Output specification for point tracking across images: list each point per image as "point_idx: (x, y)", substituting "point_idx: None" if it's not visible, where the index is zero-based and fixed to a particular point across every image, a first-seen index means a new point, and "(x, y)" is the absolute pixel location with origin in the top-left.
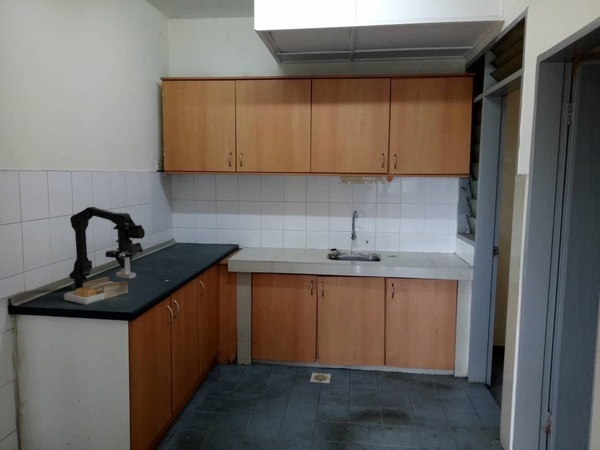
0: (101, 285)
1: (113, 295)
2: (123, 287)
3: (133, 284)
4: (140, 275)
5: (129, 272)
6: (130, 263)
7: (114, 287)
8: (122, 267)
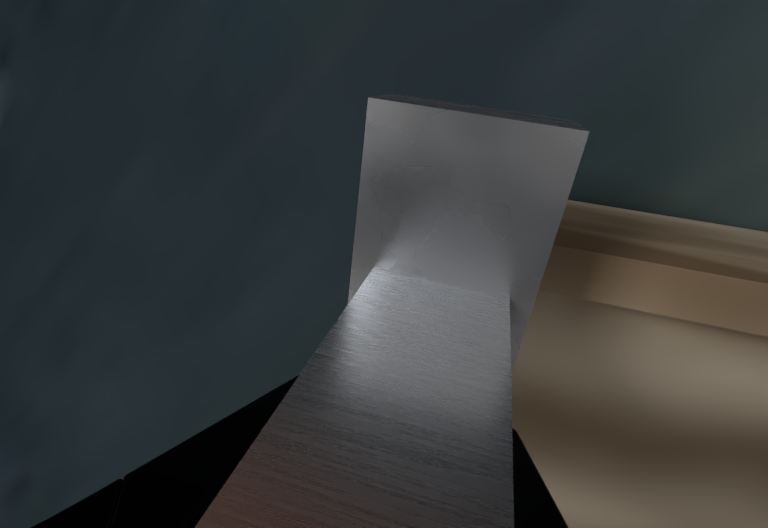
0: (620, 482)
1: (716, 227)
2: None
3: (232, 323)
4: (54, 414)
5: (394, 275)
6: (218, 423)
7: (745, 262)
8: (527, 474)
